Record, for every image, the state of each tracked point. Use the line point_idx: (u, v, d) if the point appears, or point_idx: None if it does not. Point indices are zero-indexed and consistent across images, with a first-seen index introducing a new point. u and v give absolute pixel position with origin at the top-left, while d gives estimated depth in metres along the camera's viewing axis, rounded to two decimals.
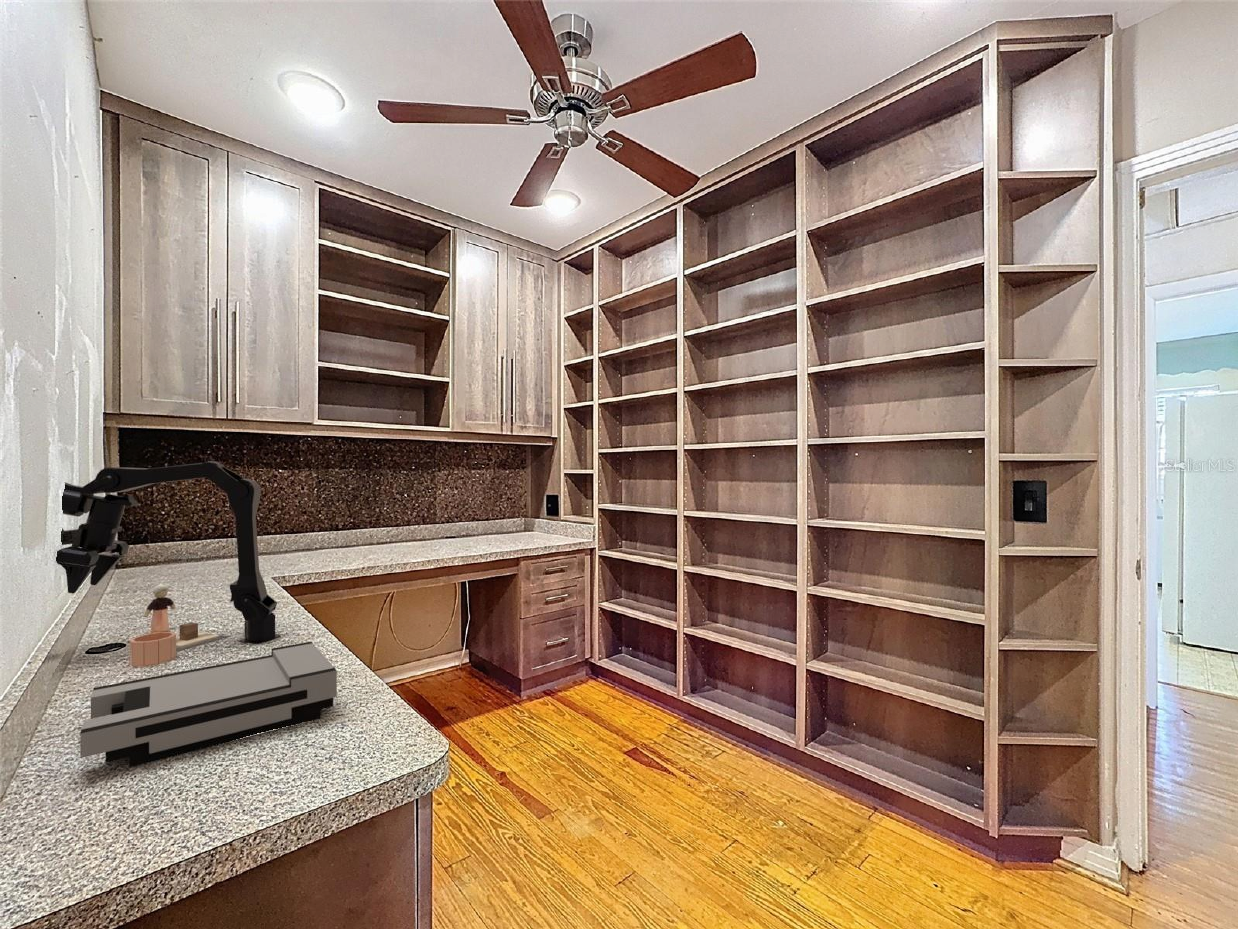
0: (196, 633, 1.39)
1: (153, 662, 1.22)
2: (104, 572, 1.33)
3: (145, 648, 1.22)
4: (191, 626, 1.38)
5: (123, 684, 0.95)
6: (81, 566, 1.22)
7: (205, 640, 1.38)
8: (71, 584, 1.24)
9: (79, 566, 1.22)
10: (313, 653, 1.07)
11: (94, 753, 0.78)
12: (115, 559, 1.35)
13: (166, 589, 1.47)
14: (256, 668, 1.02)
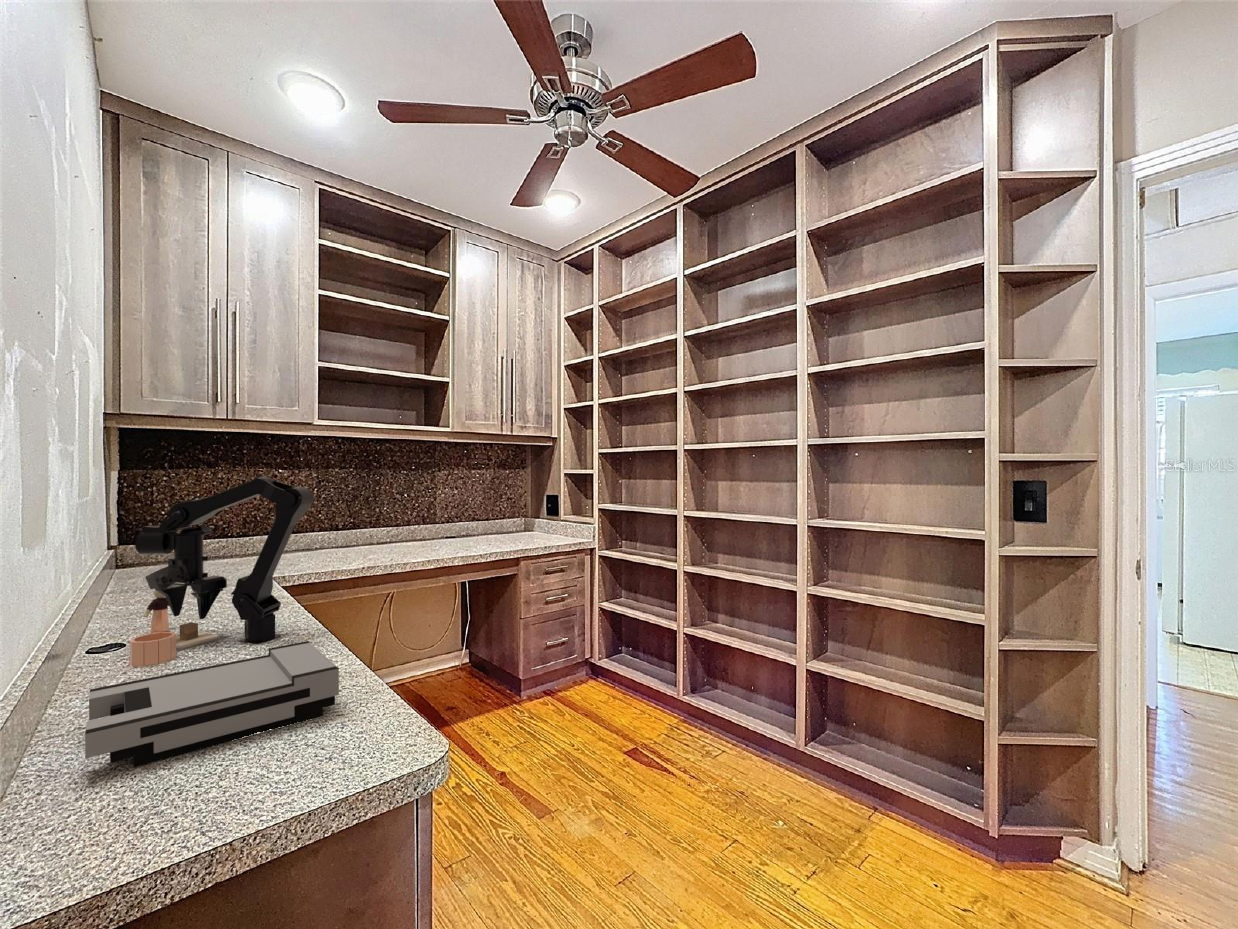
0: (196, 633, 1.39)
1: (153, 662, 1.22)
2: (182, 601, 1.42)
3: (145, 648, 1.22)
4: (191, 626, 1.38)
5: (121, 685, 0.94)
6: (218, 590, 1.38)
7: (205, 640, 1.38)
8: (203, 611, 1.37)
9: (217, 590, 1.37)
10: (312, 652, 1.07)
11: (99, 753, 0.78)
12: (185, 587, 1.43)
13: None
14: (254, 667, 1.03)
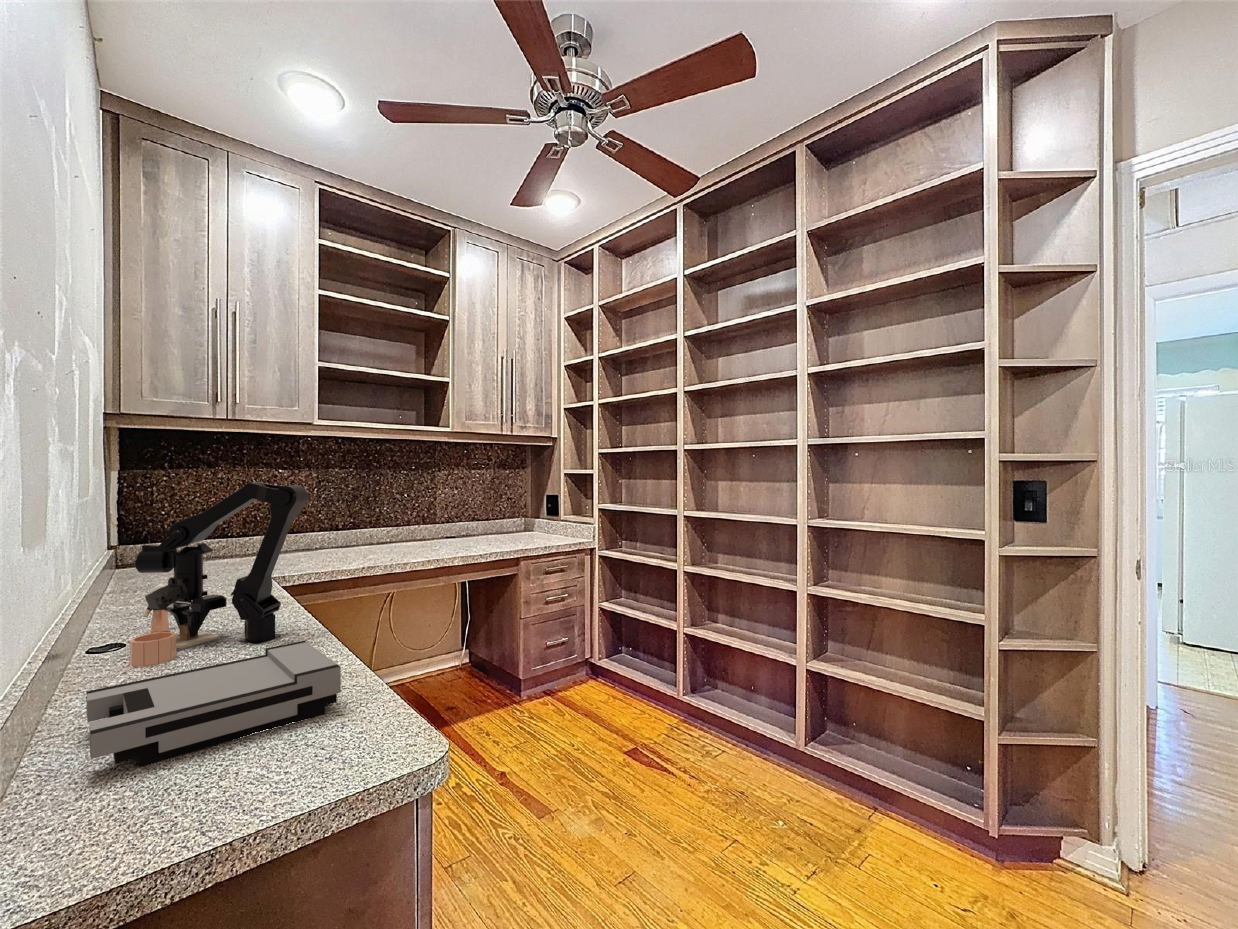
0: None
1: (153, 662, 1.22)
2: None
3: (145, 648, 1.22)
4: None
5: (118, 687, 0.94)
6: None
7: (205, 640, 1.38)
8: (193, 629, 1.38)
9: None
10: (311, 651, 1.08)
11: (104, 754, 0.78)
12: None
13: None
14: (253, 667, 1.03)
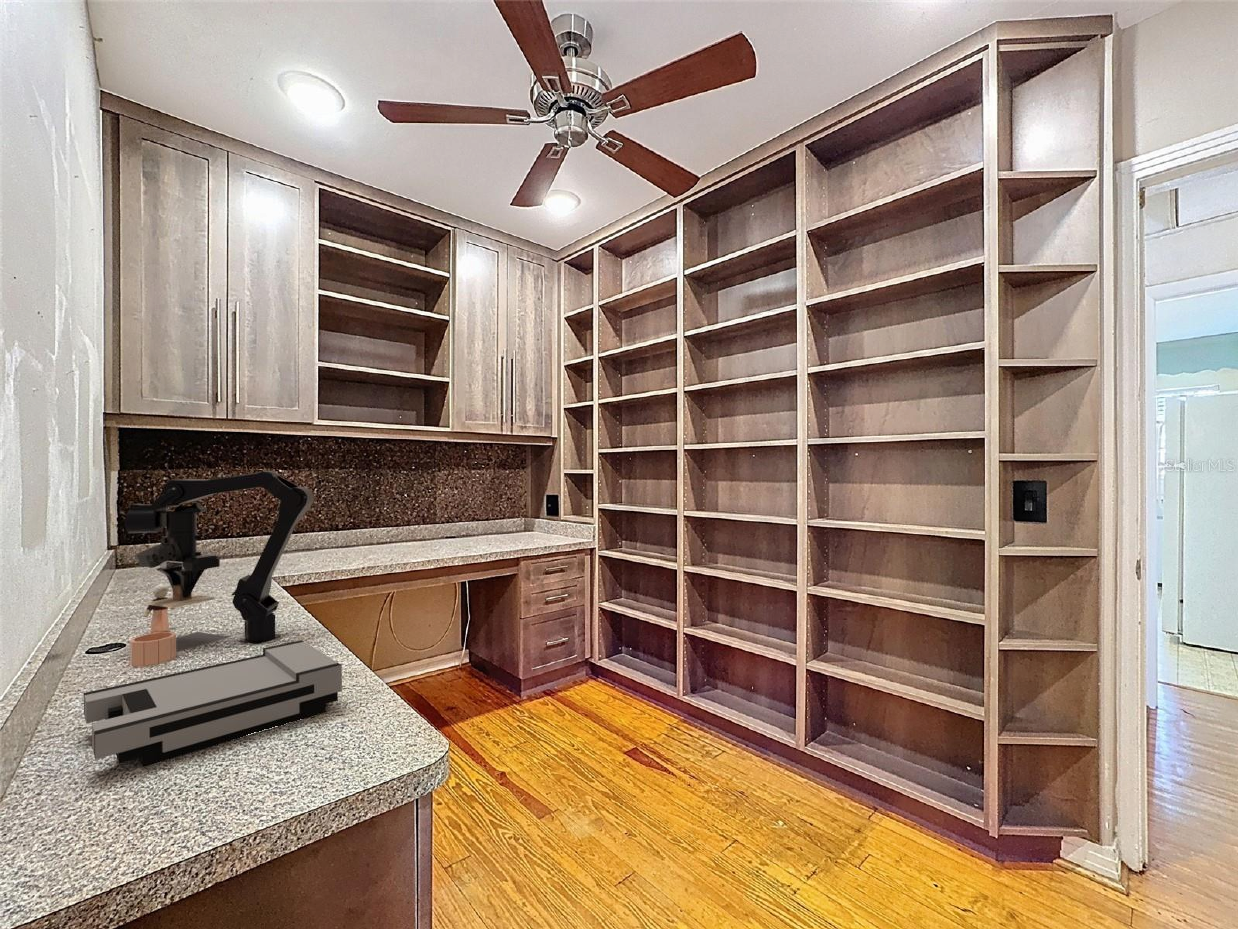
0: None
1: (153, 662, 1.22)
2: None
3: (145, 648, 1.22)
4: None
5: (116, 688, 0.93)
6: (202, 568, 1.36)
7: (198, 601, 1.35)
8: (186, 589, 1.35)
9: None
10: (309, 650, 1.08)
11: (109, 754, 0.78)
12: None
13: (166, 589, 1.47)
14: (252, 667, 1.03)
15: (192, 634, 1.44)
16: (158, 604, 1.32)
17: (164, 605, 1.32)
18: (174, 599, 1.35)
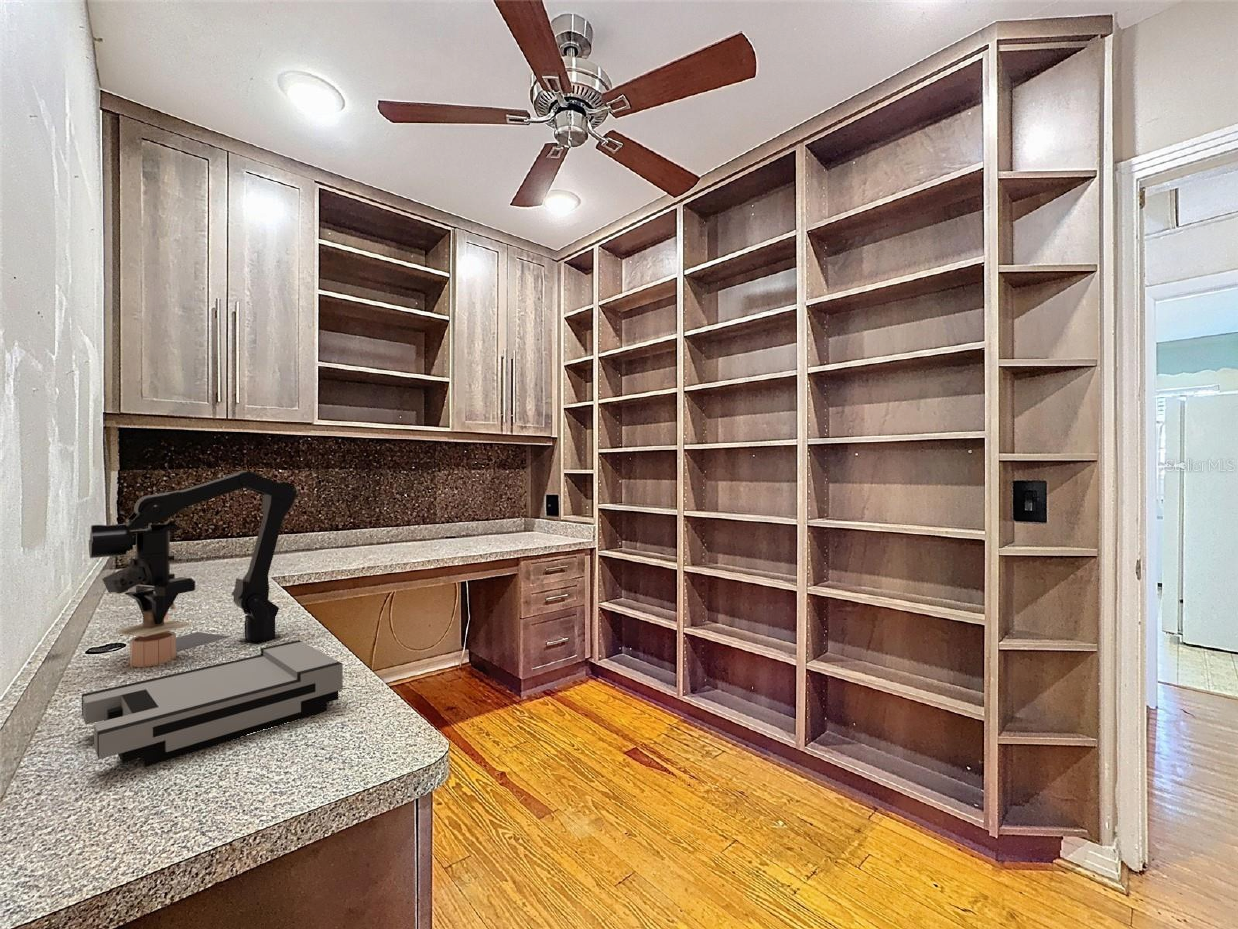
0: None
1: (153, 662, 1.22)
2: None
3: (145, 648, 1.22)
4: None
5: (114, 689, 0.93)
6: None
7: (171, 628, 1.25)
8: (158, 615, 1.24)
9: None
10: (308, 650, 1.08)
11: (112, 754, 0.78)
12: None
13: None
14: (251, 666, 1.03)
15: (192, 634, 1.44)
16: (127, 632, 1.21)
17: (133, 633, 1.21)
18: (145, 626, 1.24)
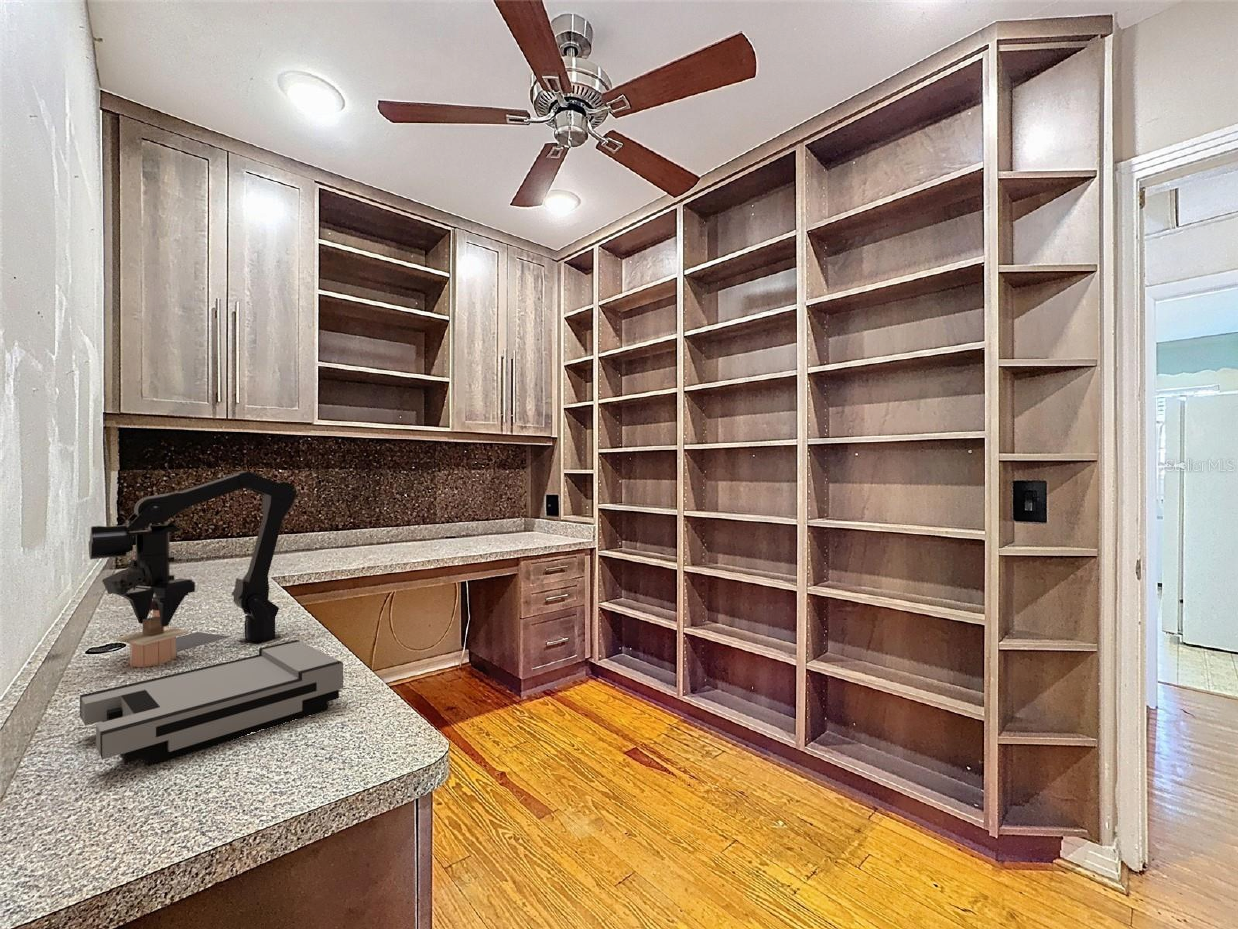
0: (161, 628, 1.26)
1: (153, 662, 1.22)
2: (148, 607, 1.28)
3: (145, 648, 1.22)
4: (155, 620, 1.25)
5: (113, 690, 0.93)
6: (183, 594, 1.24)
7: (171, 636, 1.25)
8: (165, 617, 1.24)
9: (181, 595, 1.24)
10: (307, 649, 1.09)
11: (116, 754, 0.78)
12: (153, 591, 1.29)
13: None
14: (250, 666, 1.03)
15: (192, 634, 1.44)
16: (126, 640, 1.21)
17: (133, 642, 1.21)
18: (144, 634, 1.24)
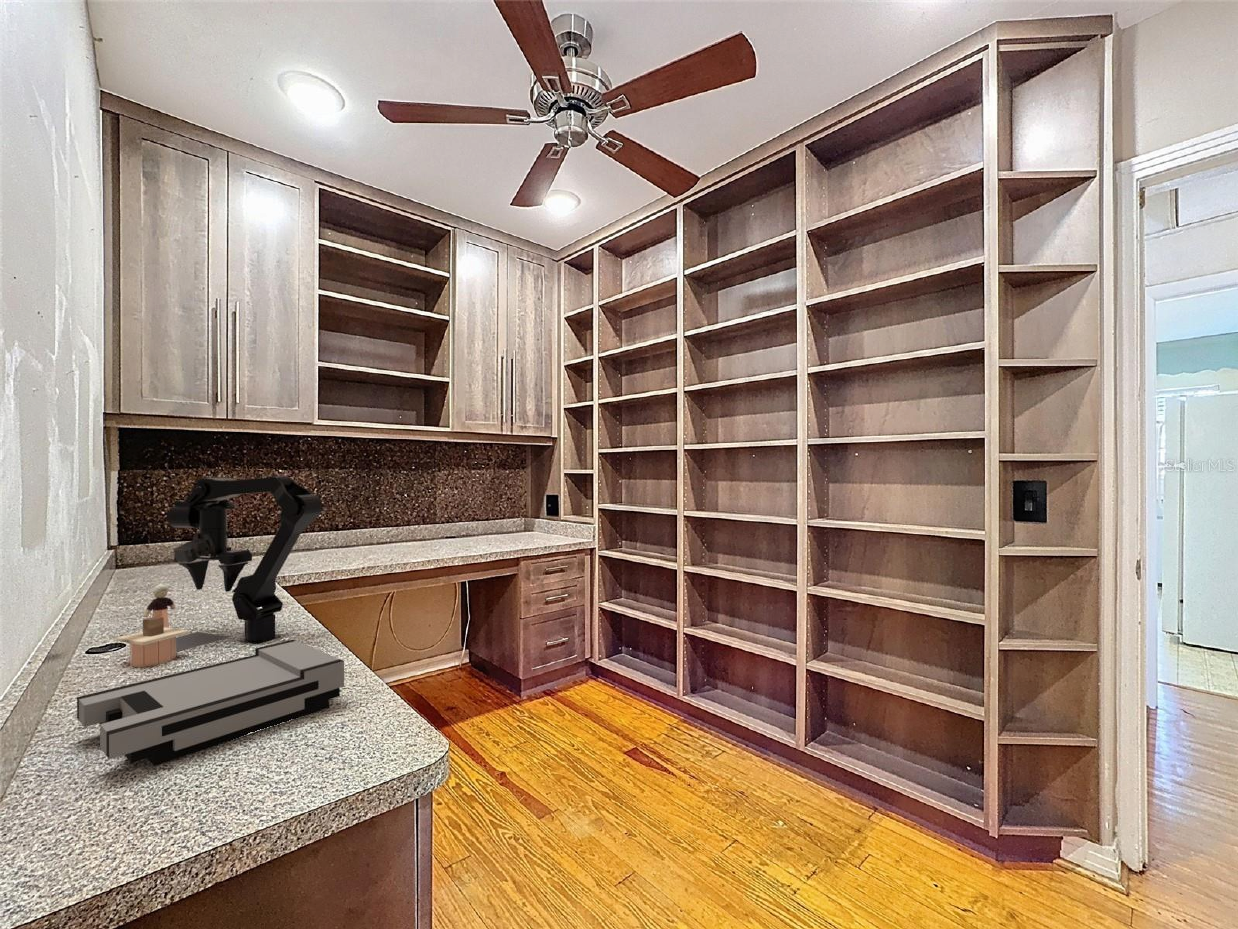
0: (161, 628, 1.26)
1: (153, 662, 1.22)
2: (204, 575, 1.45)
3: (145, 648, 1.22)
4: (155, 620, 1.25)
5: (110, 691, 0.92)
6: (244, 563, 1.42)
7: (171, 636, 1.25)
8: (228, 584, 1.41)
9: (243, 563, 1.41)
10: (305, 649, 1.09)
11: (122, 754, 0.78)
12: (207, 562, 1.46)
13: (166, 589, 1.47)
14: (249, 666, 1.03)
15: (192, 634, 1.44)
16: (126, 640, 1.21)
17: (133, 642, 1.21)
18: (144, 634, 1.24)
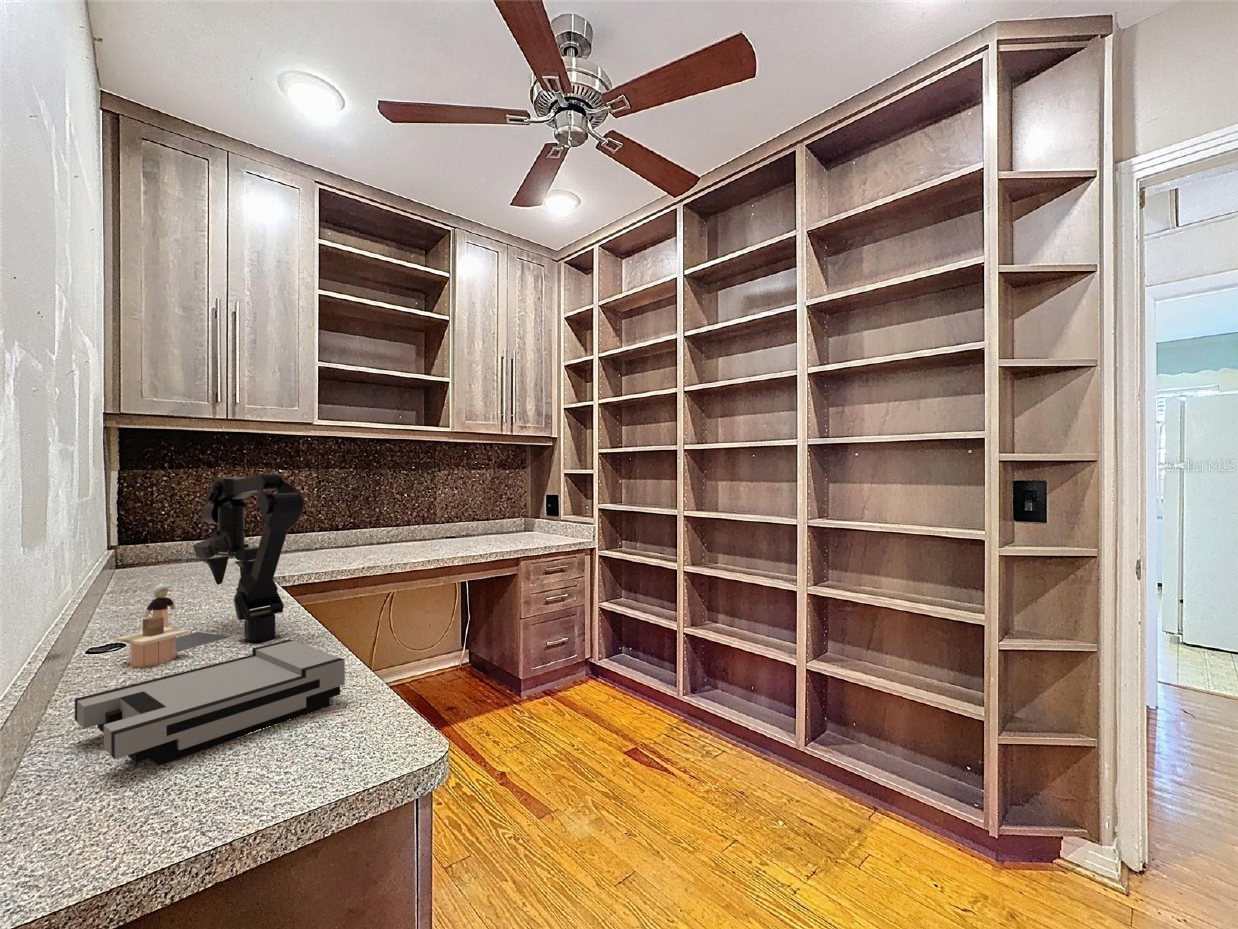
0: (161, 628, 1.26)
1: (153, 662, 1.22)
2: (224, 571, 1.51)
3: (145, 648, 1.22)
4: (155, 620, 1.25)
5: (108, 692, 0.91)
6: None
7: (171, 636, 1.25)
8: None
9: None
10: (303, 648, 1.09)
11: (128, 753, 0.78)
12: (227, 558, 1.52)
13: (166, 589, 1.47)
14: (248, 666, 1.03)
15: (192, 634, 1.44)
16: (126, 640, 1.21)
17: (133, 642, 1.21)
18: (144, 634, 1.24)
